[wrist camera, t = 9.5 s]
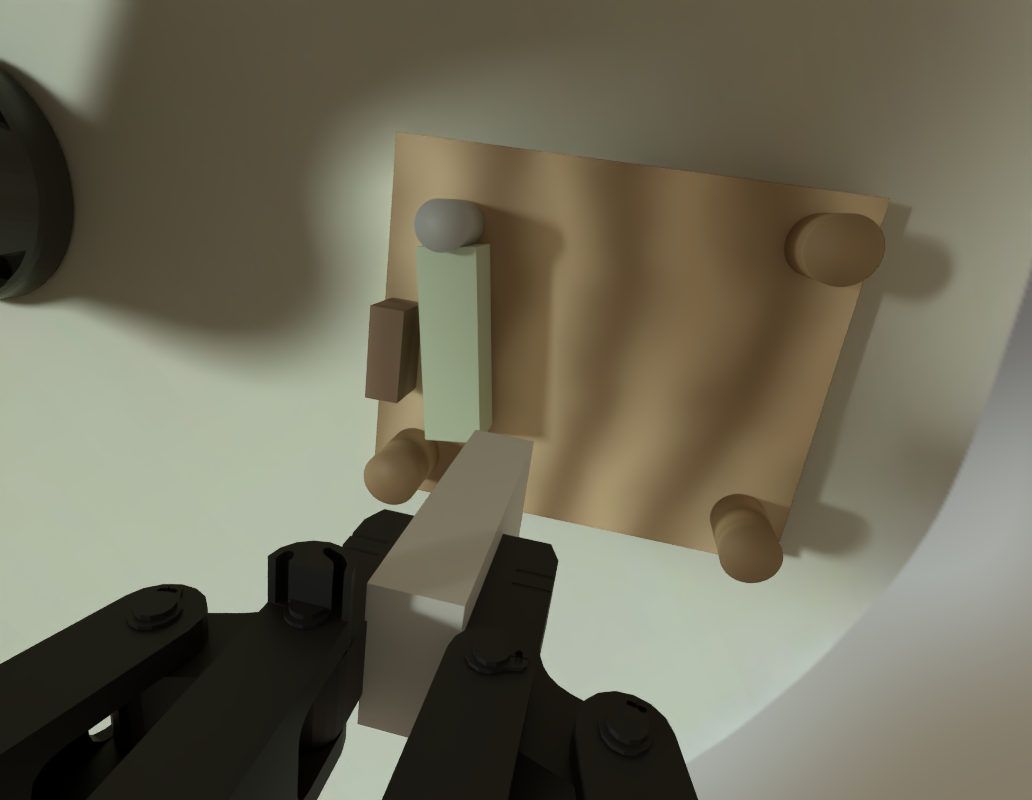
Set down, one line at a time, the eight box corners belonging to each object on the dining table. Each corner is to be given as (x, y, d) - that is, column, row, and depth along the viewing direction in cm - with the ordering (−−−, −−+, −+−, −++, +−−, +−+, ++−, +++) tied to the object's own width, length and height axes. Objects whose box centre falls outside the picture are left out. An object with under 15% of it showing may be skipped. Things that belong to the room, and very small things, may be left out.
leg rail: (433, 199, 31) (406, 198, 28) (490, 199, 31) (470, 198, 27) (442, 420, 35) (419, 445, 31) (492, 423, 34) (475, 450, 31)
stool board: (385, 467, 39) (344, 510, 34) (409, 136, 33) (363, 121, 27) (764, 547, 36) (788, 609, 30) (873, 199, 30) (930, 196, 24)
